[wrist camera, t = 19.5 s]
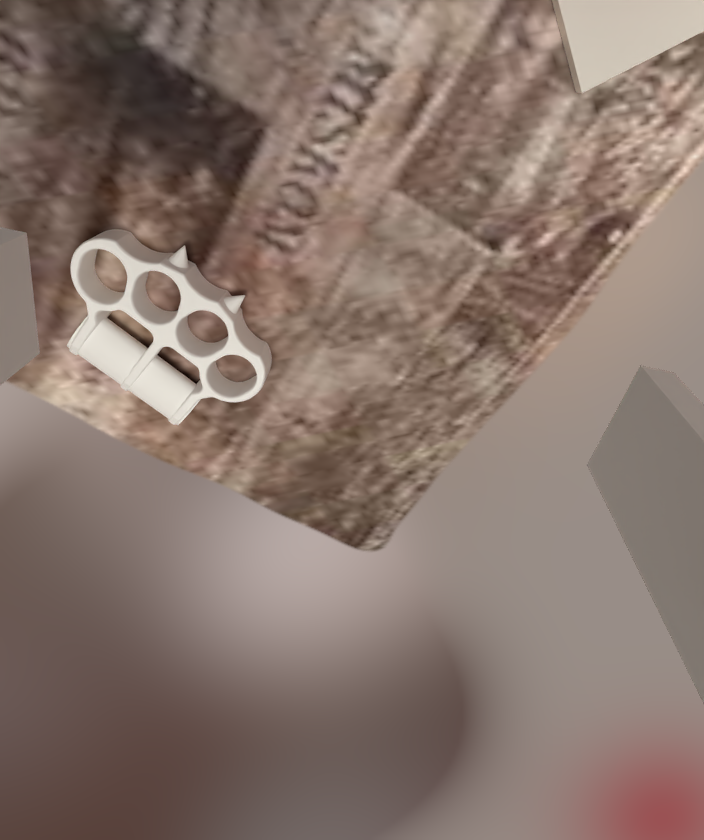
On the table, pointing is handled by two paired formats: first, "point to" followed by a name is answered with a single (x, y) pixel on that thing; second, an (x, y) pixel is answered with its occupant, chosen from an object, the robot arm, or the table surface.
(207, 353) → the knuckle duster
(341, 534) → the table surface
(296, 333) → the table surface
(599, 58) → the cutting board
